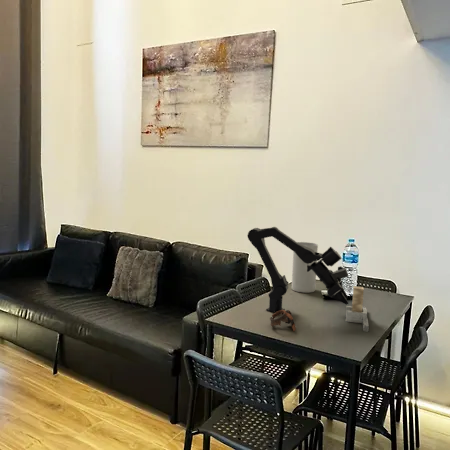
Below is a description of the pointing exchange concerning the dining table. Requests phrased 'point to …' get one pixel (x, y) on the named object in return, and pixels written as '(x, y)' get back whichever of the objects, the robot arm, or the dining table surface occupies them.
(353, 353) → the dining table surface
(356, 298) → the beech pin
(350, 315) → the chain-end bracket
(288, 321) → the brown curled piece
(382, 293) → the dining table surface
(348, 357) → the dining table surface
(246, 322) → the dining table surface
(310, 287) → the cylinder vase
